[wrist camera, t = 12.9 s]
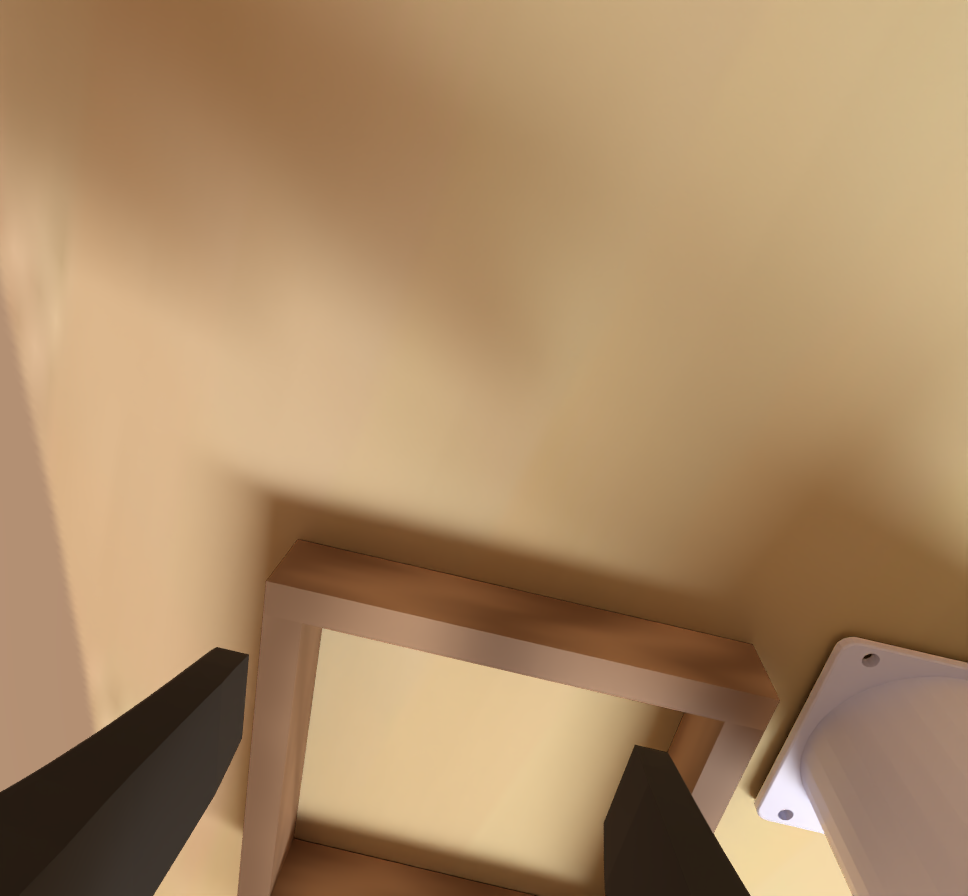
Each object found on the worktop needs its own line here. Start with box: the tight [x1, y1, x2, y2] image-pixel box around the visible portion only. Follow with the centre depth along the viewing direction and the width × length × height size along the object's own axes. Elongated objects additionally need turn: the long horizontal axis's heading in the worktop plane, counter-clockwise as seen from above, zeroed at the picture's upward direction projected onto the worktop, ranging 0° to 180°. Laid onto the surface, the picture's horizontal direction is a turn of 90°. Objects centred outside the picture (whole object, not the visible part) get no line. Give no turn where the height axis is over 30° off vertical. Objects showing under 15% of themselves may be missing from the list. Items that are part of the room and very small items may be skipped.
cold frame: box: [237, 539, 780, 896], centre depth 22 cm, size 15×15×2 cm
